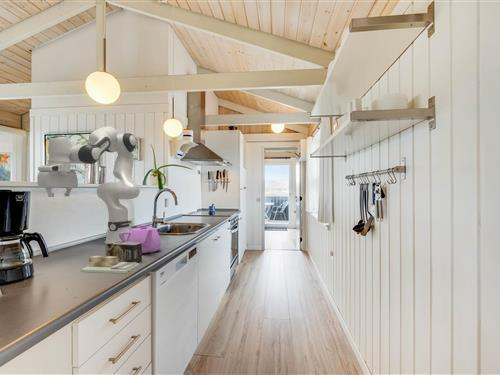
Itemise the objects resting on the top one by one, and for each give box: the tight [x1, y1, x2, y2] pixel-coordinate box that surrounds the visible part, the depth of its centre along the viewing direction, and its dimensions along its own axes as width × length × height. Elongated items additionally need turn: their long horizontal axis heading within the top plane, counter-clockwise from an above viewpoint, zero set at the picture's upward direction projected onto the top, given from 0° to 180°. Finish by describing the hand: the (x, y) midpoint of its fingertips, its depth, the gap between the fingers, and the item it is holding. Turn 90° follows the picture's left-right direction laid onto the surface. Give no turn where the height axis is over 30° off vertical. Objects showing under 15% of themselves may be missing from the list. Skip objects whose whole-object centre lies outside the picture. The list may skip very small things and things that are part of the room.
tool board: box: [80, 262, 140, 274], centre depth 114 cm, size 11×20×1 cm, turn 84°
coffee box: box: [105, 241, 143, 263], centre depth 125 cm, size 9×6×16 cm
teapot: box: [119, 223, 162, 254], centre depth 141 cm, size 23×21×15 cm
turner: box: [88, 255, 137, 270], centre depth 114 cm, size 19×8×4 cm, turn 84°
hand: (59, 196), depth 128 cm, fingers open, 8 cm apart
